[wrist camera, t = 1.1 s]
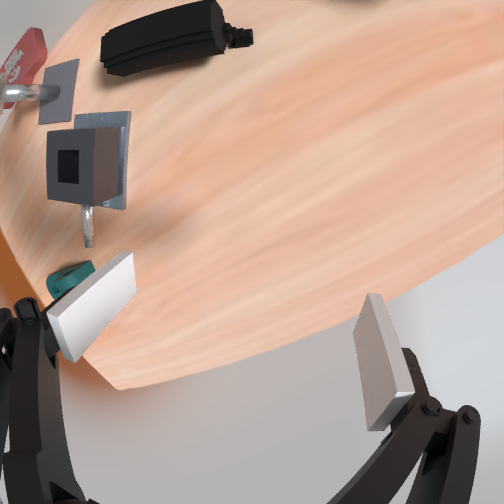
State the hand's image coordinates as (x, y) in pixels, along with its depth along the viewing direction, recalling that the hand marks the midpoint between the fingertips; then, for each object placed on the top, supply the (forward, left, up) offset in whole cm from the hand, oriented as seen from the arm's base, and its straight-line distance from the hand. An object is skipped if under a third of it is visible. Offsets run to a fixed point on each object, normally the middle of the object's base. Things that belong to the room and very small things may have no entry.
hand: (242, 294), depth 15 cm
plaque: (-22, -58, -26) cm, 68 cm away
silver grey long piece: (-15, -43, -25) cm, 52 cm away
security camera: (-20, -16, -26) cm, 36 cm away
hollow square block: (+1, -30, -26) cm, 40 cm away
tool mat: (-15, -43, -26) cm, 52 cm away
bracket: (+25, -40, -26) cm, 54 cm away
